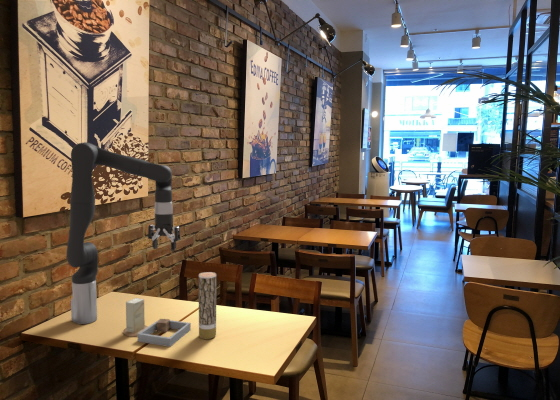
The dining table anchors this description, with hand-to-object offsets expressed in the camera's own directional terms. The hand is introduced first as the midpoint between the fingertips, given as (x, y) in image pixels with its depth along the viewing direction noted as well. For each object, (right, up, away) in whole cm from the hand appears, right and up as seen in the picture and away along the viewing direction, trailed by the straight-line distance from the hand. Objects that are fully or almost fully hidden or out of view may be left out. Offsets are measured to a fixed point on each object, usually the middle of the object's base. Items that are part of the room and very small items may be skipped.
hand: (164, 249), depth 190 cm
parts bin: (+4, -32, -15) cm, 36 cm away
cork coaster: (-8, -32, -12) cm, 35 cm away
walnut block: (+2, -32, -10) cm, 33 cm away
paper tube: (+21, -33, -15) cm, 42 cm away
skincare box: (-9, -31, -12) cm, 34 cm away
